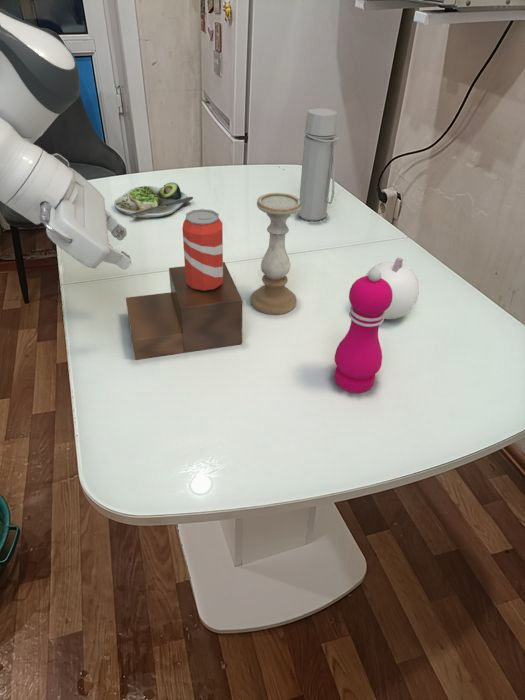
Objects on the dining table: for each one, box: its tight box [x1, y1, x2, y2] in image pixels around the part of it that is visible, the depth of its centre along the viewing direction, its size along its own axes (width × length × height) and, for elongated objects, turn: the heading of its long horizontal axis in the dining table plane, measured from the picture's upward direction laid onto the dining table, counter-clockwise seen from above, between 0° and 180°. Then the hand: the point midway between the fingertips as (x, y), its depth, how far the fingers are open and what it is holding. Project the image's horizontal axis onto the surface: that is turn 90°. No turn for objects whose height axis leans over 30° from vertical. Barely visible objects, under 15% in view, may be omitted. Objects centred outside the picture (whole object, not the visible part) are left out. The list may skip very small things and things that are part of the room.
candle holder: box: [250, 192, 302, 315], centre depth 92 cm, size 9×9×20 cm
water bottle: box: [297, 107, 340, 222], centre depth 122 cm, size 9×8×25 cm
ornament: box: [365, 257, 420, 320], centre depth 93 cm, size 10×10×12 cm
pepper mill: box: [334, 269, 393, 394], centre depth 75 cm, size 7×7×20 cm
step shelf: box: [125, 261, 244, 361], centre depth 87 cm, size 18×13×9 cm
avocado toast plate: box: [113, 181, 194, 219], centre depth 129 cm, size 19×18×5 cm
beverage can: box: [181, 208, 224, 291], centre depth 82 cm, size 6×6×12 cm
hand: (126, 249), depth 78 cm, fingers open, 8 cm apart
